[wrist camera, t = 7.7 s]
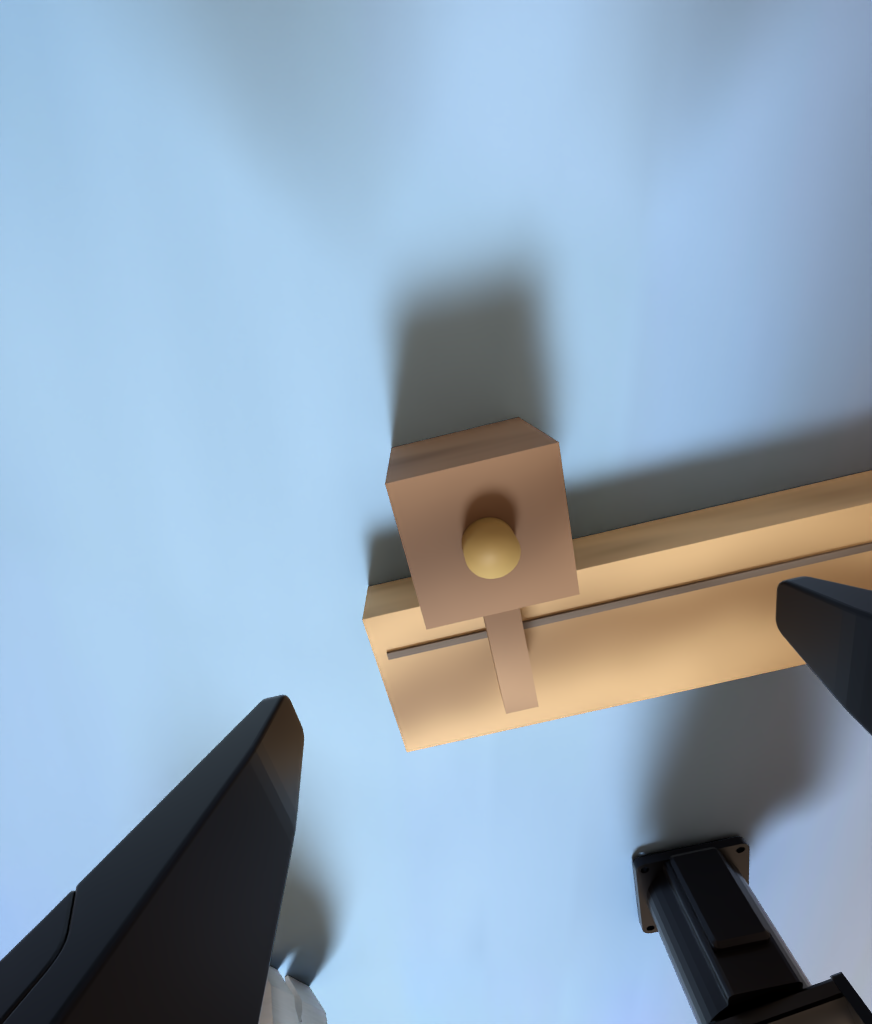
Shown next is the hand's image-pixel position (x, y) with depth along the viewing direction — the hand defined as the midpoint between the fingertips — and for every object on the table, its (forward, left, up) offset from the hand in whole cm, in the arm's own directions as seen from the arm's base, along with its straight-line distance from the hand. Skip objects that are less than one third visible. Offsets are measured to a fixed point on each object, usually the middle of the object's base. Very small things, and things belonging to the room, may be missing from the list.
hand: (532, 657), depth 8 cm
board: (-7, -7, -11) cm, 14 cm away
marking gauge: (-2, 0, -11) cm, 11 cm away
